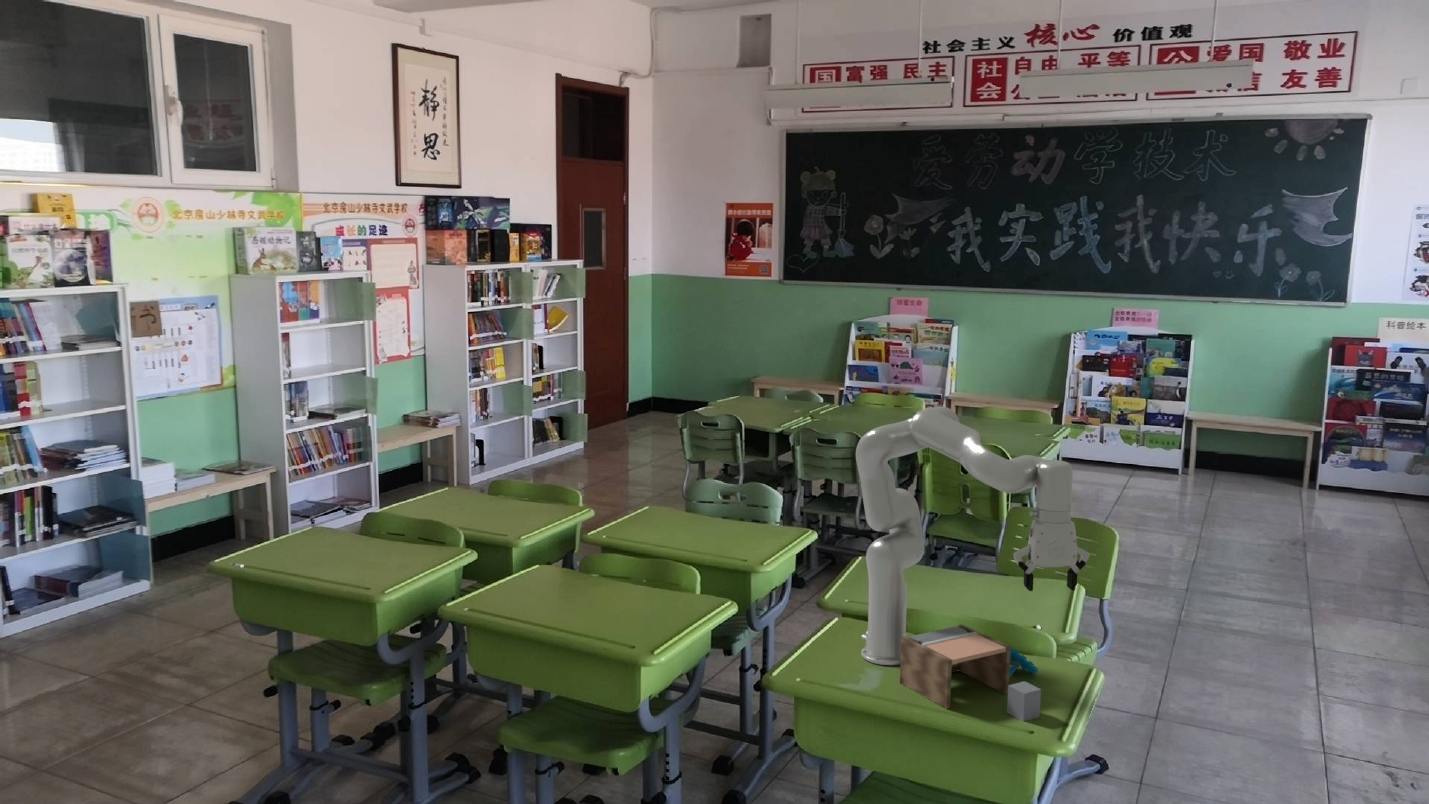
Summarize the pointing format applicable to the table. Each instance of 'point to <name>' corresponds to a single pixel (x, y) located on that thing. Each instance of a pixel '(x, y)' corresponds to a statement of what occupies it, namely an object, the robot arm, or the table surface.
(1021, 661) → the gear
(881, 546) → the robot arm
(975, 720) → the table surface
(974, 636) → the trapdoor
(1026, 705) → the grey short rectangular block
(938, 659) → the frame
